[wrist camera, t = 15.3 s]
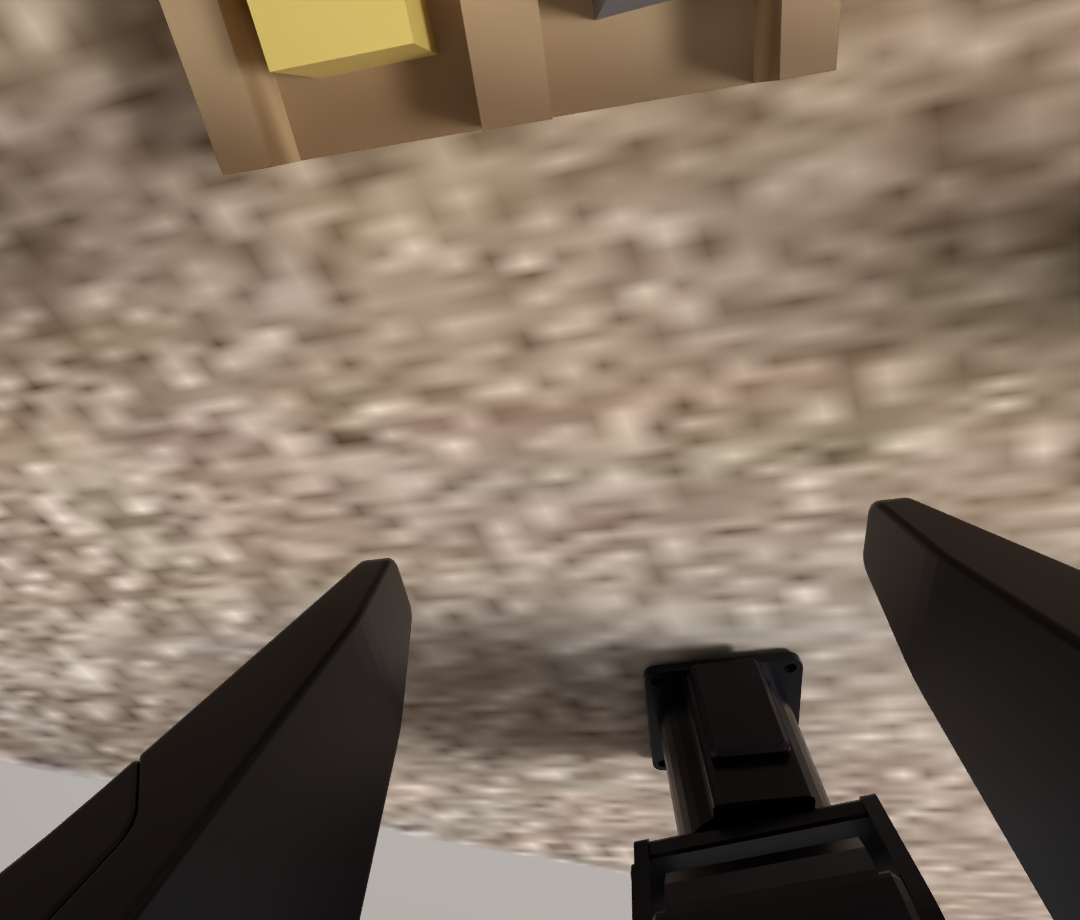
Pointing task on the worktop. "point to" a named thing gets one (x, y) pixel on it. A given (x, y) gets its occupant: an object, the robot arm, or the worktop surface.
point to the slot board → (486, 70)
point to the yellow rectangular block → (341, 34)
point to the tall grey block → (619, 6)
